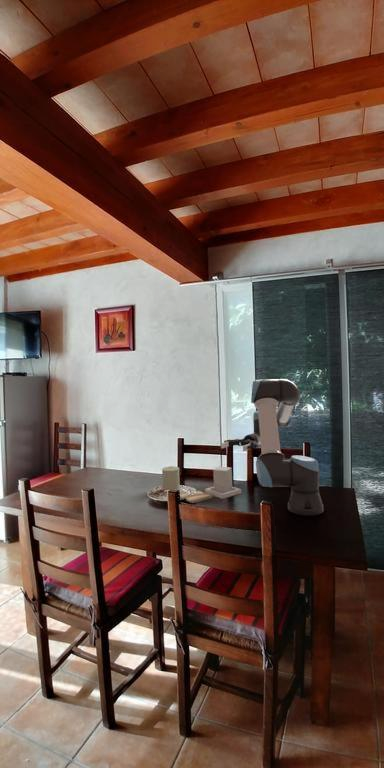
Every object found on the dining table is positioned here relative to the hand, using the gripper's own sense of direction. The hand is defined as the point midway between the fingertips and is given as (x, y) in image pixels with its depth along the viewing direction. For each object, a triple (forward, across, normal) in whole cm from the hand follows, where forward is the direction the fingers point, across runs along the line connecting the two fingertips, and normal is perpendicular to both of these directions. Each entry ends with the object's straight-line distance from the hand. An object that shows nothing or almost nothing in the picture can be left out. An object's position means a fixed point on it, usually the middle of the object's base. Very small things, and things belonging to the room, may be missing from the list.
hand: (232, 447), depth 209 cm
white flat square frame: (+10, 0, -22) cm, 24 cm away
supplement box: (+10, 0, -22) cm, 24 cm away
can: (+20, +26, -22) cm, 39 cm away
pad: (+23, +8, -22) cm, 33 cm away
